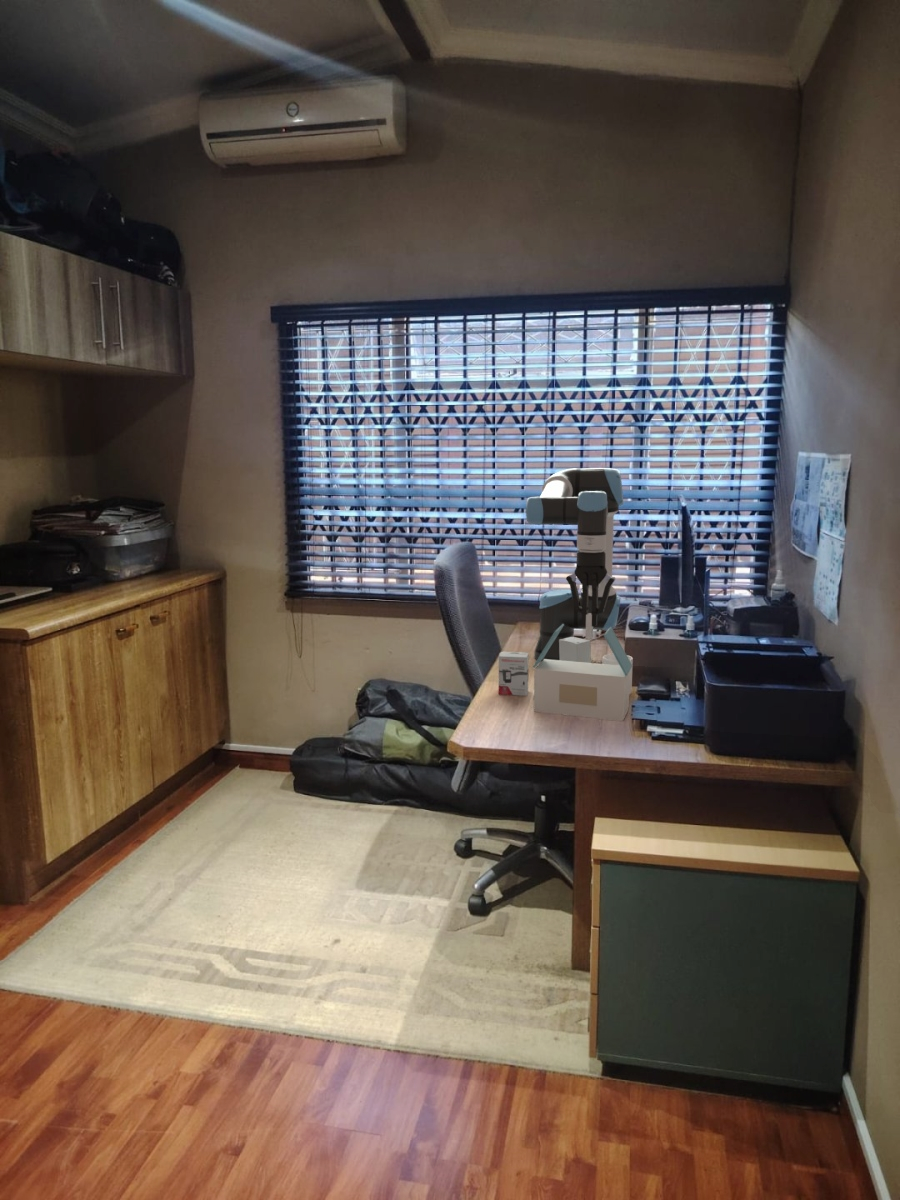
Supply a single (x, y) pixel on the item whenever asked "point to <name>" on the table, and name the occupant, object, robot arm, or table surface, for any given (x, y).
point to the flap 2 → (618, 651)
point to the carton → (581, 689)
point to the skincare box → (575, 649)
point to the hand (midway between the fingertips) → (589, 637)
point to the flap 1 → (548, 645)
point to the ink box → (513, 673)
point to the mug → (613, 661)
